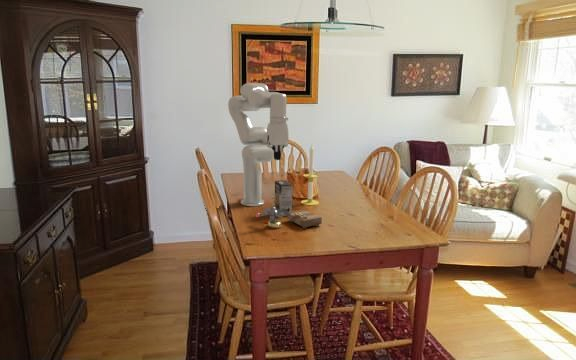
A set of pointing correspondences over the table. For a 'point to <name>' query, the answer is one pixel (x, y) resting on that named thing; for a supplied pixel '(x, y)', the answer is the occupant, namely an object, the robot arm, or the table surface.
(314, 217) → the brown switch box
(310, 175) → the candle
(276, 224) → the capstan
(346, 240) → the table surface
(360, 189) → the table surface
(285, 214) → the coffee box
